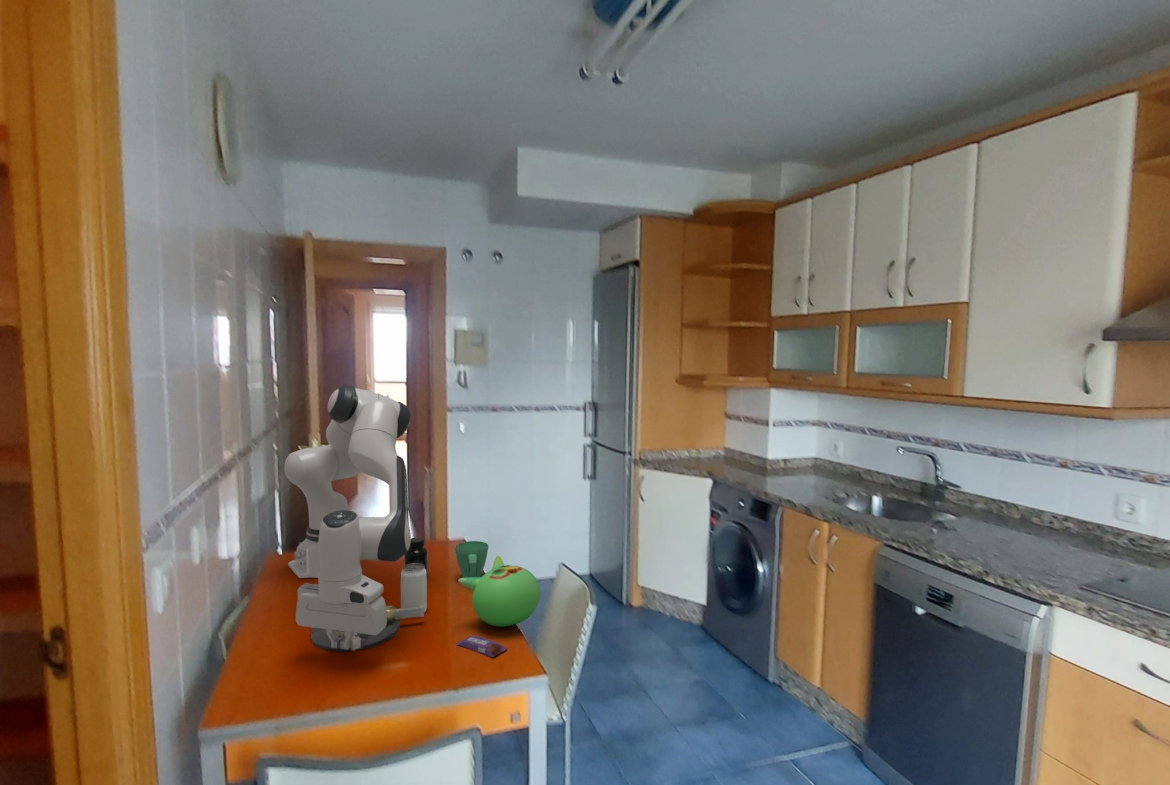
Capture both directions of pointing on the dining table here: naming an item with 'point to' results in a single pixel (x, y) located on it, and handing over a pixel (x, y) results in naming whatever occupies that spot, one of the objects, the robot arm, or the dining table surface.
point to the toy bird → (504, 594)
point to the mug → (471, 558)
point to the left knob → (403, 613)
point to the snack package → (482, 646)
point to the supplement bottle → (417, 553)
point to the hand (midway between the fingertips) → (341, 647)
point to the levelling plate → (367, 640)
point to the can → (413, 586)
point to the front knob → (354, 641)
